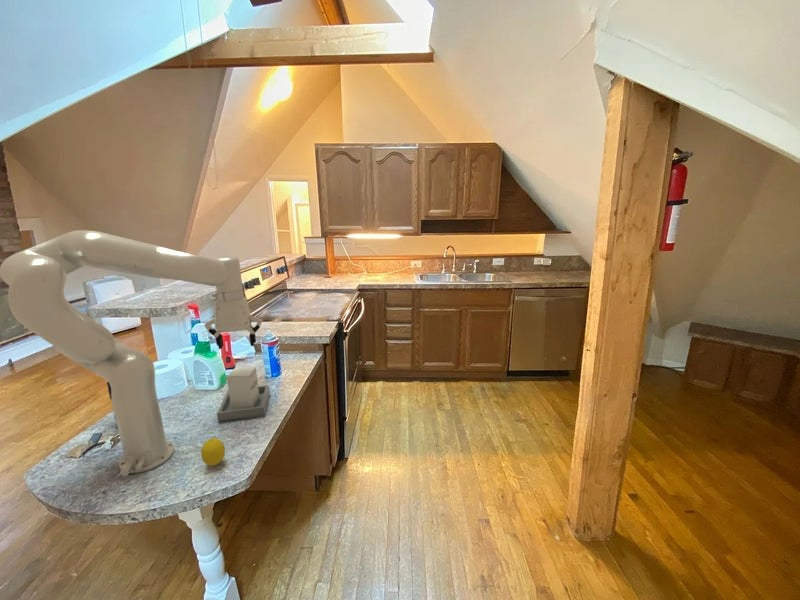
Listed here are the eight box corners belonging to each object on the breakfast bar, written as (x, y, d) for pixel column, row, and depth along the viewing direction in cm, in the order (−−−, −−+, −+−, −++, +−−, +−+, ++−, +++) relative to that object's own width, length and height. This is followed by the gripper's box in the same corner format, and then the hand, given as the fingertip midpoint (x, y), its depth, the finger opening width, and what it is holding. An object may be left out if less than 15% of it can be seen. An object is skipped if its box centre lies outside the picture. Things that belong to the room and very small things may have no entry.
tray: (264, 416, 118) (263, 407, 117) (218, 423, 115) (216, 413, 114) (269, 393, 133) (268, 384, 132) (229, 398, 130) (227, 389, 129)
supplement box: (253, 410, 120) (248, 375, 117) (230, 411, 120) (225, 376, 117) (260, 398, 127) (256, 366, 124) (239, 399, 127) (234, 366, 124)
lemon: (201, 474, 92) (196, 447, 90) (206, 460, 98) (201, 434, 96) (225, 469, 94) (220, 443, 92) (228, 456, 99) (224, 430, 97)
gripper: (197, 300, 108) (205, 352, 113) (257, 296, 112) (263, 347, 116) (204, 294, 116) (211, 344, 120) (260, 291, 119) (266, 339, 124)
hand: (237, 346), depth 118 cm, fingers open, 9 cm apart
